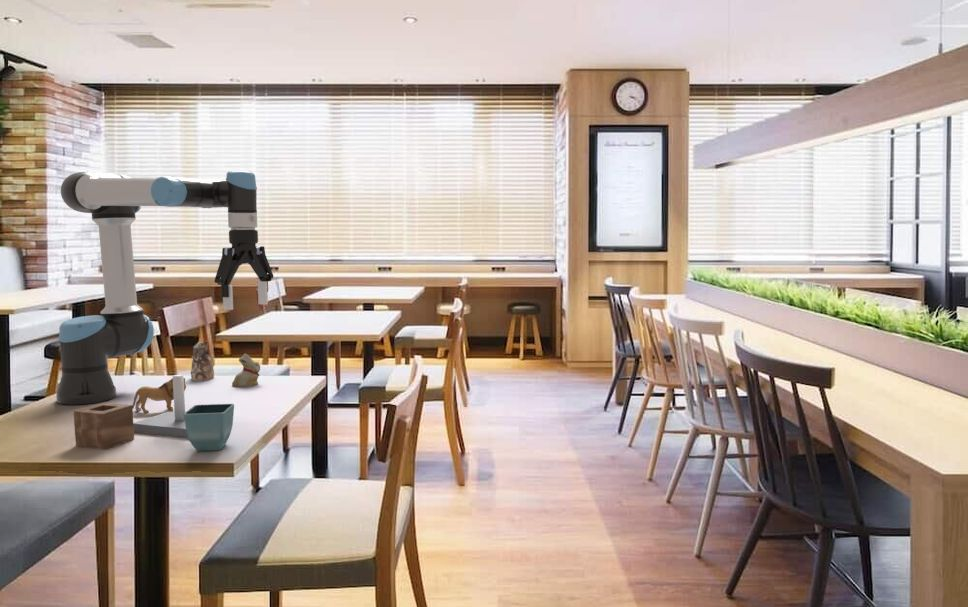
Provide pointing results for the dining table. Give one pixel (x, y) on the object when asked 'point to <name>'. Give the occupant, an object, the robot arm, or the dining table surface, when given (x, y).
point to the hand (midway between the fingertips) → (246, 307)
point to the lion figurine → (155, 395)
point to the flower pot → (209, 425)
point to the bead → (103, 425)
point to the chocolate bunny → (247, 372)
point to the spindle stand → (167, 415)
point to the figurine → (201, 363)
